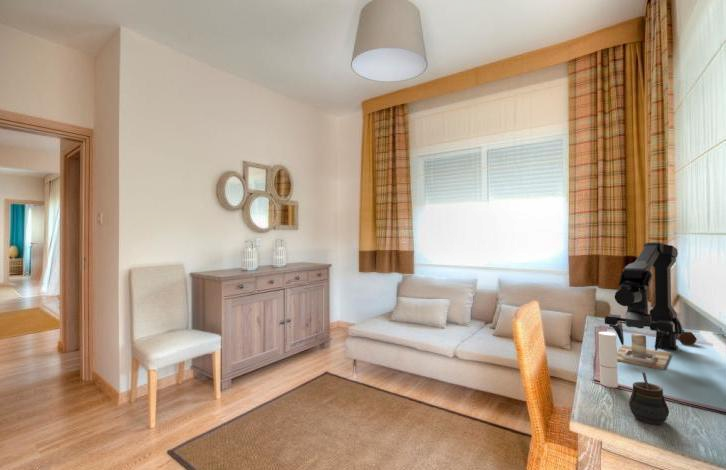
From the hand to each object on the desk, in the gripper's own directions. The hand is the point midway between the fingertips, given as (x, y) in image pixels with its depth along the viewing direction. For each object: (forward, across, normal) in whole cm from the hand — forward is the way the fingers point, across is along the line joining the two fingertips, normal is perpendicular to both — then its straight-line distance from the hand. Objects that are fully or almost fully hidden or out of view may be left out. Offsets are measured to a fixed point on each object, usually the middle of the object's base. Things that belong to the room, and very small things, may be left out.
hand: (638, 347), depth 121 cm
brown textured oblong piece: (+5, +8, +42) cm, 43 cm away
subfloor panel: (+5, 0, +4) cm, 6 cm away
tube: (+5, -3, -30) cm, 31 cm away
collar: (+5, 0, 0) cm, 5 cm away
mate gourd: (+5, +8, -48) cm, 48 cm away
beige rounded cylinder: (+4, 0, 0) cm, 4 cm away
